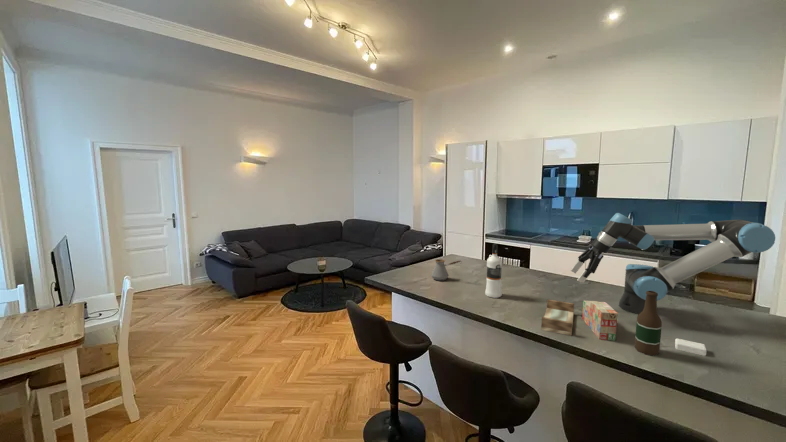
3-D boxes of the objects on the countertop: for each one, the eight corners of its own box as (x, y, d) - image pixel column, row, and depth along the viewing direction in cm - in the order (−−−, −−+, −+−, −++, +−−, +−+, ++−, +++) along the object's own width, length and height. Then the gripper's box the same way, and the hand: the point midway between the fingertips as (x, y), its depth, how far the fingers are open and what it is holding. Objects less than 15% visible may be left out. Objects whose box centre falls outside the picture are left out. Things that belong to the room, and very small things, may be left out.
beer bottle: (648, 345, 136) (653, 288, 133) (664, 355, 128) (670, 295, 125) (629, 346, 135) (634, 288, 132) (644, 356, 128) (650, 295, 125)
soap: (675, 349, 133) (676, 342, 132) (674, 344, 137) (675, 337, 137) (706, 357, 127) (707, 349, 127) (704, 351, 132) (705, 343, 131)
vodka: (497, 292, 199) (499, 242, 195) (504, 297, 190) (506, 245, 186) (482, 293, 198) (483, 243, 194) (489, 298, 189) (490, 246, 185)
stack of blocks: (581, 318, 162) (583, 294, 160) (595, 319, 161) (597, 294, 159) (599, 339, 141) (601, 311, 140) (615, 341, 140) (618, 312, 138)
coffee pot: (428, 279, 225) (428, 257, 223) (436, 275, 234) (436, 254, 232) (456, 285, 212) (457, 262, 210) (465, 281, 221) (465, 258, 219)
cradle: (573, 314, 167) (574, 303, 166) (571, 335, 145) (572, 323, 144) (546, 309, 173) (547, 299, 172) (541, 329, 150) (541, 318, 150)
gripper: (588, 232, 176) (564, 264, 182) (604, 245, 152) (575, 282, 159) (602, 239, 175) (576, 271, 181) (620, 254, 151) (590, 290, 158)
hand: (576, 276), depth 170 cm, fingers open, 13 cm apart
